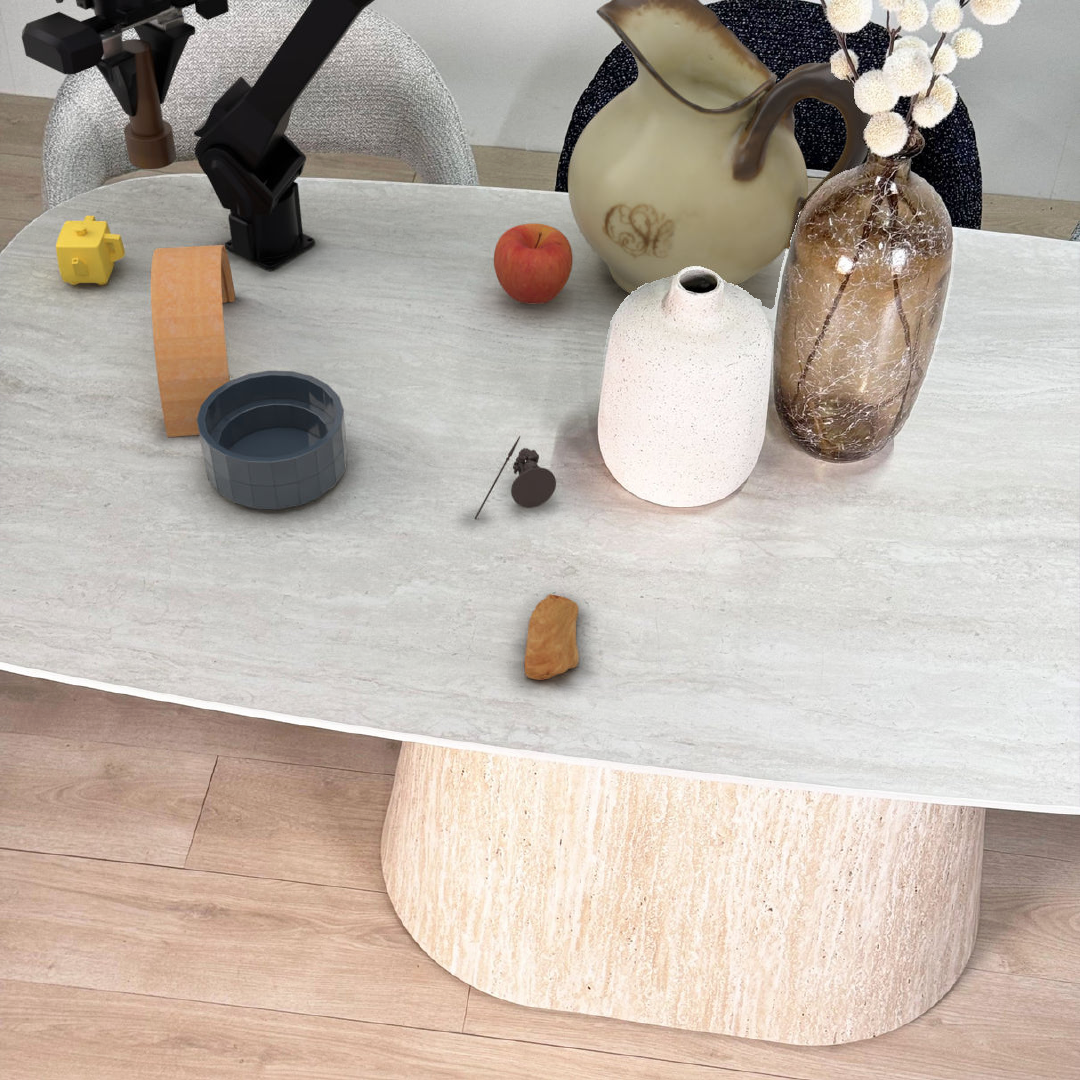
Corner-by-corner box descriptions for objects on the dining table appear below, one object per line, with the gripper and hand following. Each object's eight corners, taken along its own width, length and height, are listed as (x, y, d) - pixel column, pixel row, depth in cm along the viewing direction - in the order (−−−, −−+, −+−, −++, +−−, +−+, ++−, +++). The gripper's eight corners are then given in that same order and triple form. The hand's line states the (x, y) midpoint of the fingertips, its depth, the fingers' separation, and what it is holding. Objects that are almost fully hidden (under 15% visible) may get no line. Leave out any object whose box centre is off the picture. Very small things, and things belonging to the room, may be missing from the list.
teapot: (120, 299, 118) (109, 251, 114) (57, 299, 118) (44, 251, 114) (135, 252, 124) (125, 205, 120) (75, 252, 123) (63, 205, 120)
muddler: (154, 142, 124) (136, 31, 116) (186, 157, 122) (169, 45, 114) (119, 158, 121) (97, 46, 113) (150, 174, 119) (130, 61, 112)
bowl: (276, 405, 108) (269, 353, 104) (375, 459, 104) (372, 407, 100) (178, 474, 102) (166, 421, 98) (279, 535, 97) (271, 482, 93)
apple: (549, 270, 124) (553, 197, 119) (582, 310, 120) (588, 236, 114) (480, 285, 122) (481, 212, 116) (512, 327, 117) (515, 252, 112)
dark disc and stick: (519, 435, 96) (502, 407, 99) (473, 518, 99) (458, 489, 102) (577, 451, 99) (559, 423, 102) (531, 531, 102) (515, 502, 105)
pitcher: (542, 216, 131) (558, -29, 113) (759, 206, 135) (808, -32, 117) (584, 348, 116) (611, 90, 98) (828, 333, 120) (896, 82, 102)
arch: (237, 295, 119) (223, 201, 112) (236, 432, 106) (220, 334, 98) (174, 299, 119) (156, 203, 111) (164, 437, 105) (143, 338, 98)
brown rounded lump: (495, 666, 89) (556, 701, 88) (498, 649, 88) (560, 684, 87) (547, 594, 94) (605, 626, 93) (551, 576, 92) (611, 609, 91)
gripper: (136, -117, 116) (162, 50, 127) (-41, -63, 105) (5, 115, 116) (222, -84, 111) (241, 85, 122) (47, -24, 100) (86, 156, 111)
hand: (144, 108), depth 118 cm, fingers closed on muddler, 3 cm apart
